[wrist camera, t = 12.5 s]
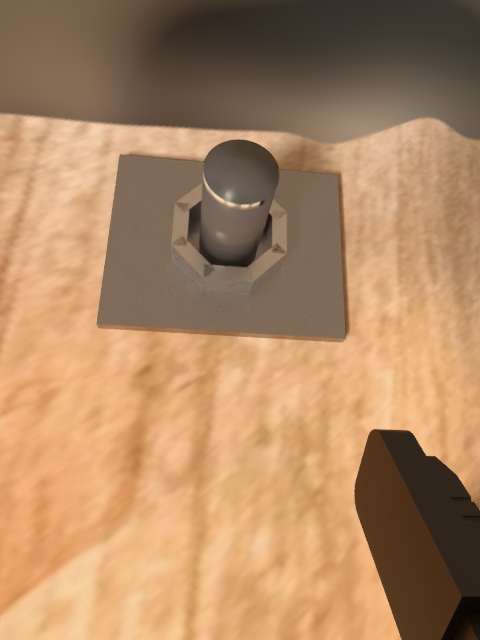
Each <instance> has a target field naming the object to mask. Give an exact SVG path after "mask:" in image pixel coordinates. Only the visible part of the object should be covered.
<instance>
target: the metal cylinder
mask: <svg viewBox="0 0 480 640" xmlns="http://www.w3.org/2000/svg"><path fill="white" fill-rule="evenodd" d="M278 182H279V168H278V165H277V162H276V160H275V158H274V157H273V156H272V154H271V153H270V152H269V151H268V150H266V149H265V148H264V147H262V146H261V145H259V144H257V143H254V142H251V141H247V140H230V141H226V142H223V143H221V144H219V145H217V146H215V147H214V148H213V149H212V150H211V151H210V152H209V153H208V155H207V156H206V159H205V161H204V165H203V181H202V201H201V221H200V241H199V245H200V250H201V253H202V255H203V257H204V258H205V259H206V260H207V261H208V262H209V263H210V264H211V265H220V266H234V267H245V266H247V265H248V264H249V263H251V262H252V260H253V259H254V257H255V255H256V253H257V250H258V246H259V243H260V240H261V237H262V234H263V230H264V227H265V224H266V221H267V217H268V214H269V211H270V208H271V204H272V201H273V198H274V195H275V192H276V188H277V185H278Z"/></svg>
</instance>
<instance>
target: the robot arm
mask: <svg viewBox="0 0 480 640" xmlns="http://www.w3.org/2000/svg"><path fill="white" fill-rule="evenodd" d="M355 505H356V510H357V514H358V517H359V520H360V523H361V525H362V528H363V531H364V534H365V537H366V540H367V542H368V545H369V548H370V551H371V554H372V557H373V559H374V562H375V565H376V568H377V571H378V574H379V576H380V579H381V582H382V585H383V588H384V591H385V593H386V596H387V599H388V602H389V605H390V608H391V610H392V613H393V616H394V619H395V622H396V625H397V627H398V630H399V633H400V636H401V639H402V640H480V510H479V509H478V507H477V506H476V504H475V503H474V502H472V501H471V496H470V495H469V493H468V492H467V490H466V489H465V487H464V486H463V484H462V483H461V481H460V479H459V478H458V476H457V475H456V474H455V473H454V472H452V471H451V470H450V469H449V468H448V467H447V466H446V465H445V464H443V463H442V462H441V461H440V460H439V459H438V458H437V457H435V456H426V455H425V453H424V452H423V450H422V448H421V447H420V445H419V443H418V442H417V440H416V438H415V436H414V435H413V434H412V433H411V432H410V431H407V430H380V429H374V430H372V431H371V432H370V434H369V436H368V439H367V443H366V446H365V450H364V453H363V457H362V461H361V464H360V468H359V471H358V475H357V479H356V483H355Z"/></svg>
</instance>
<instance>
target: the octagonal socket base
mask: <svg viewBox="0 0 480 640" xmlns="http://www.w3.org/2000/svg"><path fill="white" fill-rule="evenodd" d="M203 165H204V162H197V161H186V160H175V159H165V158H154V157H143V156H132V155H122V154H120V157H119V164H118V171H117V179H116V186H115V193H114V201H113V208H112V215H111V222H110V230H109V237H108V244H107V252H106V259H105V266H104V274H103V281H102V288H101V296H100V303H99V310H98V318H97V326H98V327H99V328H107V329H124V330H141V331H158V332H175V333H192V334H209V335H226V336H243V337H260V338H277V339H294V340H311V341H328V342H343V341H344V340H345V339H346V332H345V312H344V291H343V270H342V250H341V229H340V208H339V187H338V175H336V174H326V173H315V172H304V171H293V170H283V169H279V182H278V185H277V188H276V192H275V195H274V198H273V201H272V204H271V208H270V211H269V214H268V217H267V221H266V224H265V227H264V230H263V234H262V237H261V240H260V243H259V246H258V250H257V253H256V255H255V257H254V259H253V260H252V262H251V263H249V264H248V265H247V266H245V267H234V266H220V265H211V264H210V263H209V262H208V261H207V260H206V259H205V258H204V257H203V255H202V253H201V250H200V245H199V241H200V221H201V201H202V181H203Z"/></svg>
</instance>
